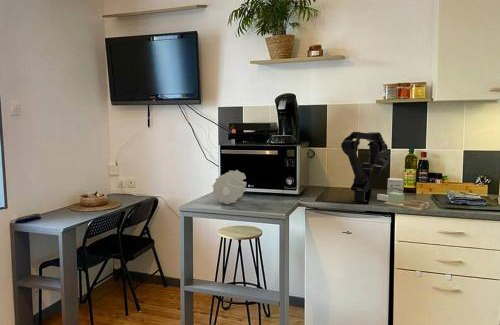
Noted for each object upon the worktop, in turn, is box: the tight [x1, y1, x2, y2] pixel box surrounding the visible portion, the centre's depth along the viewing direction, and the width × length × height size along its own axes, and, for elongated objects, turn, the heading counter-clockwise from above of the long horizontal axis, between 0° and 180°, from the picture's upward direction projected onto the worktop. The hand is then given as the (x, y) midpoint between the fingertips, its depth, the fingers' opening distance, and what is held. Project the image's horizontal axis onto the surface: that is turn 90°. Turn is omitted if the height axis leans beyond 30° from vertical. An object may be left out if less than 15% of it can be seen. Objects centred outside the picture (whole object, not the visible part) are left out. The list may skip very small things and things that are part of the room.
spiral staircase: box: [212, 169, 247, 205], centre depth 232 cm, size 18×18×25 cm
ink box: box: [386, 177, 404, 195], centre depth 236 cm, size 9×5×12 cm, turn 62°
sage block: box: [376, 192, 405, 204], centre depth 223 cm, size 5×15×5 cm, turn 40°
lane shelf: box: [382, 199, 431, 212], centre depth 215 cm, size 12×21×3 cm, turn 40°
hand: (373, 178), depth 235 cm, fingers open, 9 cm apart
